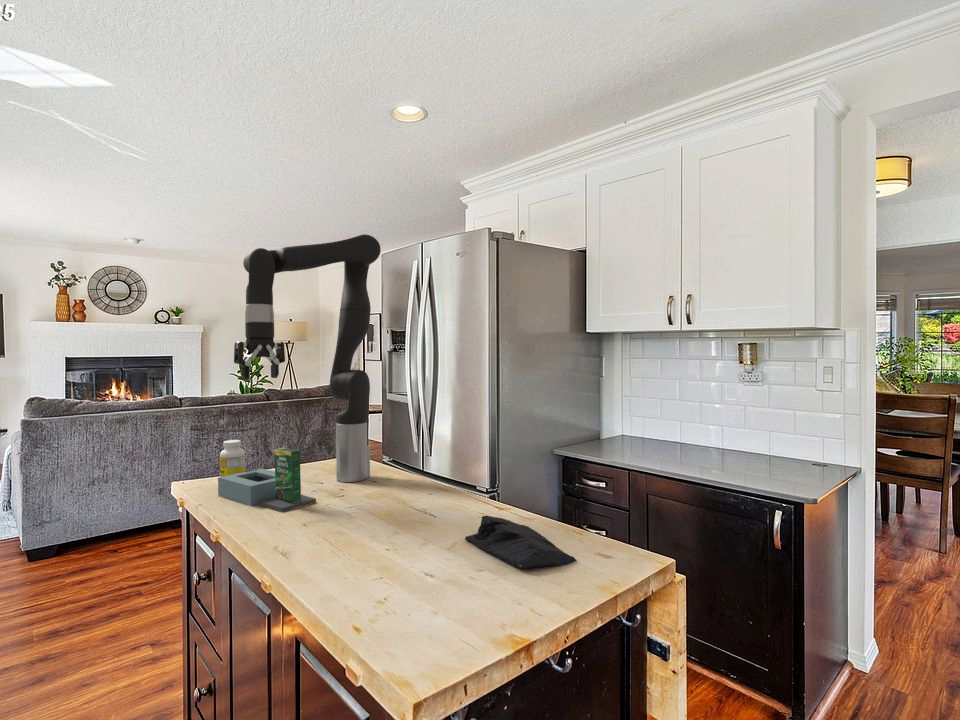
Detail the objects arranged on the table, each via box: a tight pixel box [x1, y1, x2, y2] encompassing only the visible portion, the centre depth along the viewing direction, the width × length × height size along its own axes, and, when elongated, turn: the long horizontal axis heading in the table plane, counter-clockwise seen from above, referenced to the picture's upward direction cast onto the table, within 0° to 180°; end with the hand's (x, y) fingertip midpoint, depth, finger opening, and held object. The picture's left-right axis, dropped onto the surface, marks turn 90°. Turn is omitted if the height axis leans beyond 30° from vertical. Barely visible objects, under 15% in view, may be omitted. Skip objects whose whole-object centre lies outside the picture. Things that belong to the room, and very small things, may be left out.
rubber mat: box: [257, 494, 317, 513], centre depth 137 cm, size 10×10×1 cm
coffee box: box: [273, 447, 302, 503], centre depth 137 cm, size 8×3×13 cm, turn 51°
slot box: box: [217, 468, 276, 507], centre depth 145 cm, size 13×16×5 cm
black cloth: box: [464, 515, 577, 570], centre depth 106 cm, size 15×22×5 cm
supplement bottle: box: [219, 439, 246, 477], centre depth 156 cm, size 7×7×13 cm
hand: (260, 378), depth 151 cm, fingers open, 8 cm apart
